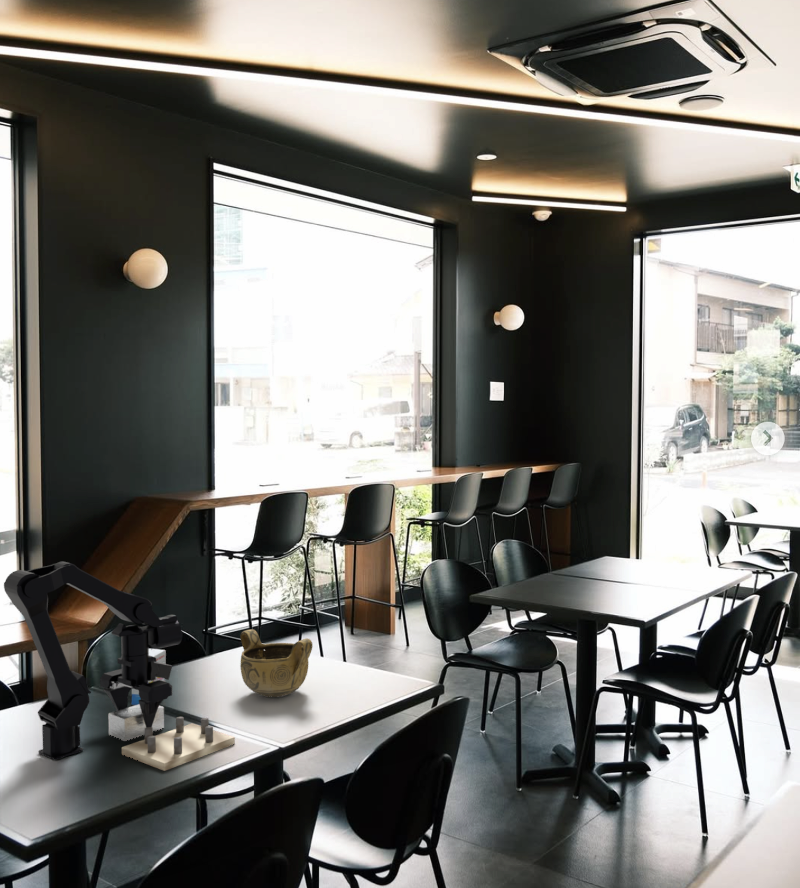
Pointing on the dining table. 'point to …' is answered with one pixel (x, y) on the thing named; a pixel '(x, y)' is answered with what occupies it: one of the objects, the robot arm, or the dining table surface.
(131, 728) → the block
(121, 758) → the dining table surface
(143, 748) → the pin tray
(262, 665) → the ceramic bowl
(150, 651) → the ink box
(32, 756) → the dining table surface
